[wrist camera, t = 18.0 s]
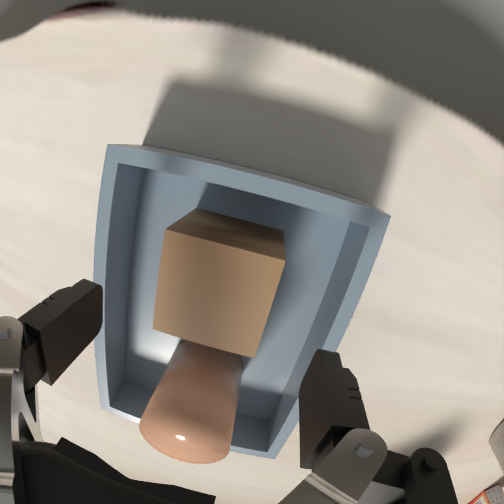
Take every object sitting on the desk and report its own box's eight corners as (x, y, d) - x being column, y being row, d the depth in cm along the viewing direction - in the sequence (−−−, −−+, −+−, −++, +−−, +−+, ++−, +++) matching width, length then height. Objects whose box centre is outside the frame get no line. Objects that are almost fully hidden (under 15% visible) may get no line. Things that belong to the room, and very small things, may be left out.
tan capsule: (251, 346, 19) (239, 427, 12) (235, 395, 21) (220, 471, 14) (178, 325, 19) (138, 397, 12) (170, 377, 21) (139, 447, 14)
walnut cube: (283, 230, 17) (285, 260, 12) (260, 308, 18) (254, 358, 13) (196, 207, 17) (164, 228, 12) (181, 286, 18) (152, 329, 13)
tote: (366, 202, 16) (390, 215, 12) (276, 421, 22) (274, 458, 18) (141, 145, 16) (107, 144, 12) (120, 377, 22) (101, 408, 18)
